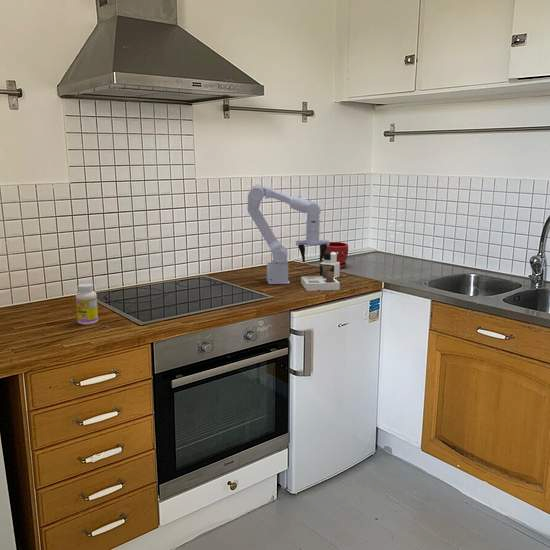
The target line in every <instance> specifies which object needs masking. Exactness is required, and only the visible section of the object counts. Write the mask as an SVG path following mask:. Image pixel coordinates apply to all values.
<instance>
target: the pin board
mask: <svg viewBox="0 0 550 550" xmlns="http://www.w3.org/2000/svg"><path fill="white" fill-rule="evenodd" d="M328 271H330V266H323V276H320V275H316V276H314V275H313V276H308V275H307V276H301V277H300V284H301V285H302V286H303V288H304V289H305V290H306V292H312V291H313V292H314V291H315V292H317V291H318V290H320V291H340V288H341V283H340V282H339V281H338V280H337V278H336V279H335V278H334V277H333V283H326V272H328Z"/></svg>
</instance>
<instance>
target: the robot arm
mask: <svg viewBox="0 0 550 550" xmlns="http://www.w3.org/2000/svg"><path fill="white" fill-rule="evenodd" d="M263 198H264V199H274V200H277V201H280V202H282V203H285V204H288V205H289V207H290V209H293V210H295V211H297V212H300V213H302V214H306V221H305V222H306V226H305V228H306V229H305V231H306V232H305V240H304V239H303V240H295V246H297V247H298V249H299V252H300V255H301V261H302V263H305V262H306V255H305V254H306V247H305V246H319V262H320V263H322V262H323V256H324V253H325V251H326V249H327V245H329V242H330V240H327V239H325V240H324V239H323V240H322V239H320V229H321V227H320V214H321V207H320V206H319V205H318V204H317V203H316V202H314V201H312V200H307V199H305V198H303V197H302V196H301V195H294V196H290V195H287V194H285V193H283V192H282V191H281V192H280V191H278V190H275V189H273V188H271V187H267V186H262V185H259V184H255V185H253V186H252V187H251V188H250V189H249V192H248V195H247V207H246V208H247V212H248V215H249V217H250V218H251V219H252V221H253V222H254V223H255V226H256V228H257V229H258V230H259V232H260V234H261V235H262V237H263V238H264V240H265V242H266V244H267V246H268V247H269V249H270V252H271V253H272V260H271V262H267V264H266V282H267V284H268V285H278V284H279V285H281V284H283V285H284V284H285V285H286V284H289V285H290V284H291V281H290V280H289V261H288V250H287V248H286V247H285V246H283V245H282V244H281V242H280V241H279V240H278V238H277V237H276V235H275V233H274V231H273V229H272V228H271V227H270V225H269V223H268V222H267V220H266V218H265V217H264V215H263V214H262V212H261V210H260V206H261V202H262V201H263Z"/></svg>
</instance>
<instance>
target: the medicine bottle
mask: <svg viewBox="0 0 550 550" xmlns="http://www.w3.org/2000/svg"><path fill="white" fill-rule="evenodd" d="M337 253H338V252H337ZM337 253H335V252H325V253H324V256H323V259H322V262H320V263H319V276H323V266H330V271H331V272H334V276H333V277H334V278H336V279H338V278H339V277H340V273H341V272H340V269H341V268H340V262H336V261H337ZM337 277H338V278H337Z"/></svg>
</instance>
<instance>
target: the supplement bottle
mask: <svg viewBox="0 0 550 550" xmlns="http://www.w3.org/2000/svg"><path fill="white" fill-rule="evenodd" d="M77 288H78V292H77V293H76V294H75V302H76V303H75V306H76V319H77V323H78V324H79V325H85V326H87V325H88V326H89V325H93V324H96V323H98V322H99V313H98V312H99V311H98V296H97V293H96V292H95V291H94V284H93V283H80V284H78V286H77Z"/></svg>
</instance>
